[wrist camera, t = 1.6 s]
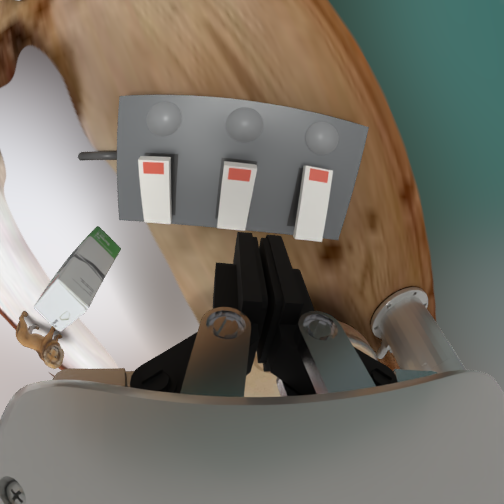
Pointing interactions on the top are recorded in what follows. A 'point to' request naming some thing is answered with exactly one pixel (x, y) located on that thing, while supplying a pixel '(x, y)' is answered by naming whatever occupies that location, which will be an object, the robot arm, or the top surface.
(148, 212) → the block
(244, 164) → the middle rocker
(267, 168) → the grey switch panel
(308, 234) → the far-end rocker
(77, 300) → the ink box
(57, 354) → the lion figurine
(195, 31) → the top surface
